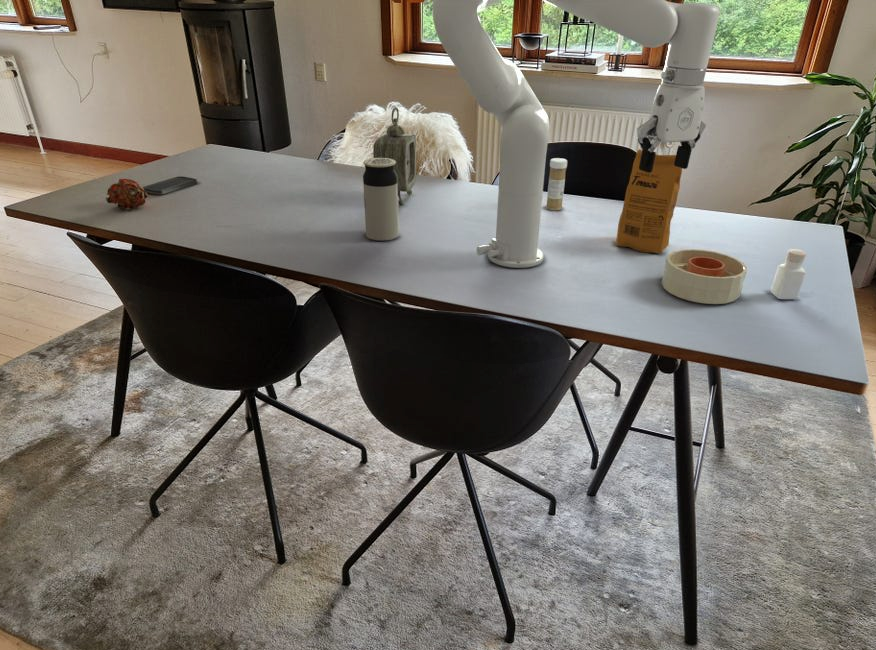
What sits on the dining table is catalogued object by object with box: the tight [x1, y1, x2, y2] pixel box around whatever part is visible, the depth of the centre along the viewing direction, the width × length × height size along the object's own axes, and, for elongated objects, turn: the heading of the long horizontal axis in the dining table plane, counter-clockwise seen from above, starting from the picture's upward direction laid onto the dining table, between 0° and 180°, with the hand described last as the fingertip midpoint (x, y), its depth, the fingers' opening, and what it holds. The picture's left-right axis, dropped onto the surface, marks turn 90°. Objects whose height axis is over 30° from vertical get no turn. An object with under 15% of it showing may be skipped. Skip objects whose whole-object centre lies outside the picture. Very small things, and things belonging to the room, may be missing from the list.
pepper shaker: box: [770, 248, 807, 300], centre depth 125 cm, size 4×4×10 cm
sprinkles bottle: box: [545, 157, 568, 211], centre depth 172 cm, size 5×5×14 cm
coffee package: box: [615, 148, 683, 254], centre depth 146 cm, size 10×12×22 cm
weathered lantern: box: [372, 106, 417, 207], centre depth 174 cm, size 14×9×25 cm, turn 171°
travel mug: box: [362, 157, 400, 242], centre depth 149 cm, size 8×8×18 cm
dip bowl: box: [686, 257, 725, 277], centre depth 127 cm, size 7×7×6 cm
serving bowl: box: [661, 248, 748, 305], centre depth 128 cm, size 15×15×6 cm
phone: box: [141, 175, 198, 196], centre depth 187 cm, size 8×1×15 cm
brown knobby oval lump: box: [105, 178, 149, 211], centre depth 168 cm, size 8×8×12 cm
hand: (663, 169), depth 127 cm, fingers open, 9 cm apart
